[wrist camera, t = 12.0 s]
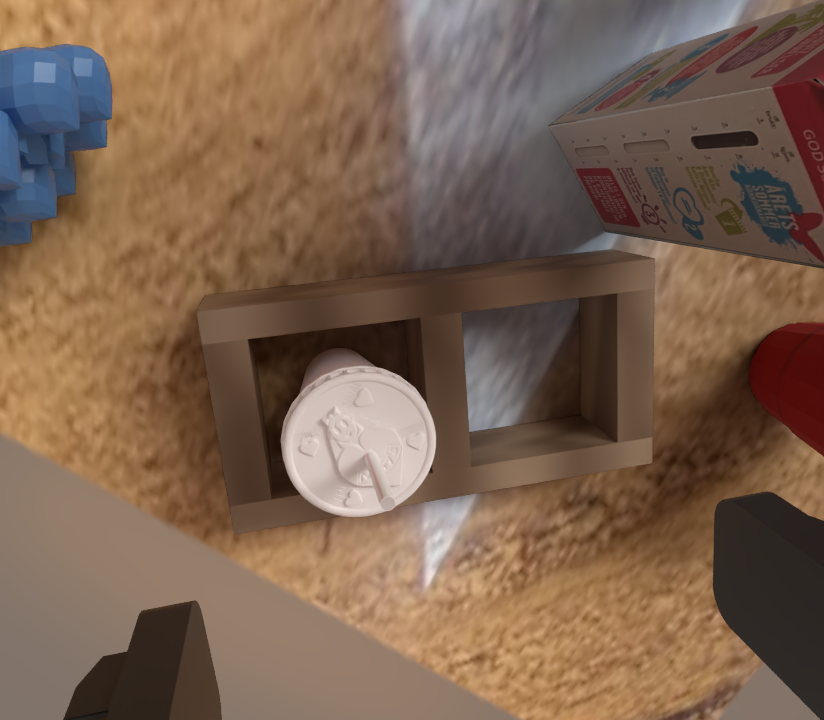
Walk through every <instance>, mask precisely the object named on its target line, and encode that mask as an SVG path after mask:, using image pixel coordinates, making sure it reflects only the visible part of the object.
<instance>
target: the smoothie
mask: <svg viewBox="0 0 824 720" xmlns="http://www.w3.org/2000/svg"><path fill="white" fill-rule="evenodd" d="M281 447H282V455H283V460H284V463H285V467H286V470H287V473H288V476H289V478H290V480H291V482H292V483H293V485H294V486H295V488H296V489H297V490H298V492H299V493H300V494H301V495H302V496H303V497H304V498H305V499H306V500H308V501H309V502H310V503H311V504H313V505H314V506H316V507H318V508H320V509H322V510H324V511H326V512H329V513H332V514H335V515H340V516H346V517H364V516H371V515H375V514H379V513H382V512H385V511H390V510H392V509H393V508H394V507H395V506H397V505H399V504H400V503H402V502H403V501H405V500H406V499H407V498H408V497H410V496H411V495H412V494H413V493H414V492H415V491H416V490H417V489H418V487H419V486H420V485H421V484H422V482H423V481H424V479H425V478H426V476H427V474H428V472H429V470H430V468H431V465H432V462H433V459H434V455H435V449H436V431H435V426H434V422H433V419H432V416H431V414H430V412H429V410H428V408H427V405H426V402H425V401H424V400H423V398H422V397H421V395H420V394H419V393H418V391H417V390H416V388H415V387H413V386H412V385H411V384H410V383H408V382H407V381H406V380H405V379H403V378H402V377H401V376H399V375H397V374H395V373H392V372H390V371H388V370H385V369H383V368H377V367H376V366H374V365H373V364H372V363H370V362H369V361H368V360H366V359H365V358H364V357H362V356H361V355H360V354H358V353H357V352H355V351H353V350H350V349H346V348H332V349H328V350H325V351H323V352H321V353H320V354H318V355H317V356H316V357H315V358H314V359H313V360H312V361H311V362H310V363H309V365H308V367H307V369H306V371H305V375H304V378H303V382H302V386H301V389H300V393H299V395H298V397H297V398H296V399H295V400H294V401H293V403H292V404H291V407H290V409H289V411H288V413H287V415H286V417H285V419H284V423H283V429H282V435H281Z"/></svg>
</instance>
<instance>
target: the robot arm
mask: <svg viewBox="0 0 824 720" xmlns="http://www.w3.org/2000/svg"><path fill="white" fill-rule="evenodd" d="M713 590H714V596H715V600H716V603H717V606H718V609H719V611H720V613H721V615H722V617H723V619H724V620H725V622H726V623H727V625H728V626H729V627H730V628H731V629H732V630H733V631H734V632H735V633H736V634H737V635H738V636H739V637H740V638H741V639H742V640H743V641H744V642H745V643H746V644H747V645H748V646H749V647H750V648H751V649H752V650H753V652H754V653H755V654H756V655H757V656H758V657H759V658H760V659H761V660H762V661H763V662H764V663H765V664H766V665H767V666H768V667H769V668H770V669H771V670H772V671H773V672H774V673H775V674H776V675H777V676H778V677H779V678H780V679H781V680H782V681H783V682H784V683H785V684H786V685H787V686H788V687H789V688H790V689H791V690H792V691H793V692H794V693H795V694H796V695H797V696H798V697H799V698H800V699H801V700H802V701H803V702H804V703H805V704H806V705H807V706H808V707H809V708H810V709H811V710H812V711H813V712H814V713H815V714H816V715H817V716H818V717H819V718H820V720H824V521H822V520H820V519H817V518H814V517H811V516H808V515H807V514H805V513H804V512H802V511H801V510H799V509H798V508H796V507H795V506H793V505H791V504H790V503H788V502H787V501H785V500H784V499H782V498H781V497H779V496H778V495H776V494H774V493H772V492H761V493H756V494H751V495H745V496H740V497H735V498H730V499H725V500H722V501H720V502H719V503H718V505H717V507H716V510H715V519H714V563H713ZM63 720H222V717H221V704H220V696H219V690H218V685H217V681H216V676H215V671H214V667H213V662H212V658H211V653H210V648H209V644H208V639H207V635H206V631H205V626H204V621H203V616H202V613H201V609H200V606H199V604H198V602H197V601H190V602H184V603H179V604H174V605H169V606H164V607H159V608H154V609H148V610H143V611H141V613H140V614H139V616H138V619H137V623H136V626H135V629H134V632H133V635H132V638H131V642H130V645H129V648H128V651H127V652H123V653H118V654H113V655H108V656H103V657H102V658H101V659H100V661H99V662H98V663H97V664H96V665H95V666H94V667H93V668H92V670H91V671H90V672H89V673H88V674H87V675H86V676H85V678H84V679H83V680H82V681H81V682H80V683H79V685H78V686H77V687H76V689H75V691H74V694H73V696H72V699H71V701H70V704H69V707H68V709H67V712H66V714H65V717H64V719H63Z"/></svg>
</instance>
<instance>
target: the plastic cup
mask: <svg viewBox="0 0 824 720" xmlns="http://www.w3.org/2000/svg"><path fill="white" fill-rule="evenodd" d="M749 380H750V385H751V389H752V393H753V395H754V396H755V397H756V399H757V400H758V401H759V402H760V404H761V405H762V406H763V407H764V408H765V409H766V411H767V412H769V413H770V414H771V415H773V416H774V417H775V418H777V419H778V420H779V421H781V422H782V423H783V424H785V425H786V426H787V427H789V429H790V430H791V431H792V432H793V433H794V434H795V435H796V436H797V437H799V438H800V439H801V440H803V441H804V442H805V443H807V444H808V445H809V446H811V447H812V448H813V449H815V450H816V451H817V452H819V453H820V454H821V455H823V456H824V323H816V322H811V323H796V324H788V325H786V326H784V327H781V328H779V329H777V330H775V331H773V332H772V333H771V334H770V335H769V336H768V337H767V338H766V339H765V340H764V341H763V342H762V343H761V344H760V345H759V347H758V349H757V351H756V353H755V355H754V357H753V359H752V361H751V367H750V374H749Z"/></svg>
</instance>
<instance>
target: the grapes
mask: <svg viewBox="0 0 824 720" xmlns="http://www.w3.org/2000/svg"><path fill="white" fill-rule="evenodd" d="M108 119H112V84H111V79H110V73H109V71H108V68H107V66H106V63H105V60H104V58H103V57H102V56H100V55H99V54H98V53H96V52H95V51H94V50H92V49H91V48H88V47H85V46H80V45H70V44H63V45H57V46H51V47H46V48H34V47H21V48H15V49H10V50H4V51H0V246H9V245H19V244H24V243H29V242H31V235H32V225H31V221H40V220H45V219H51V218H56V215H57V197H60V196H66V195H71V194H75V191H76V173H75V162H74V155H73V153H72V151H85V150H92V149H98V148H103V147H107V120H108Z"/></svg>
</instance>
